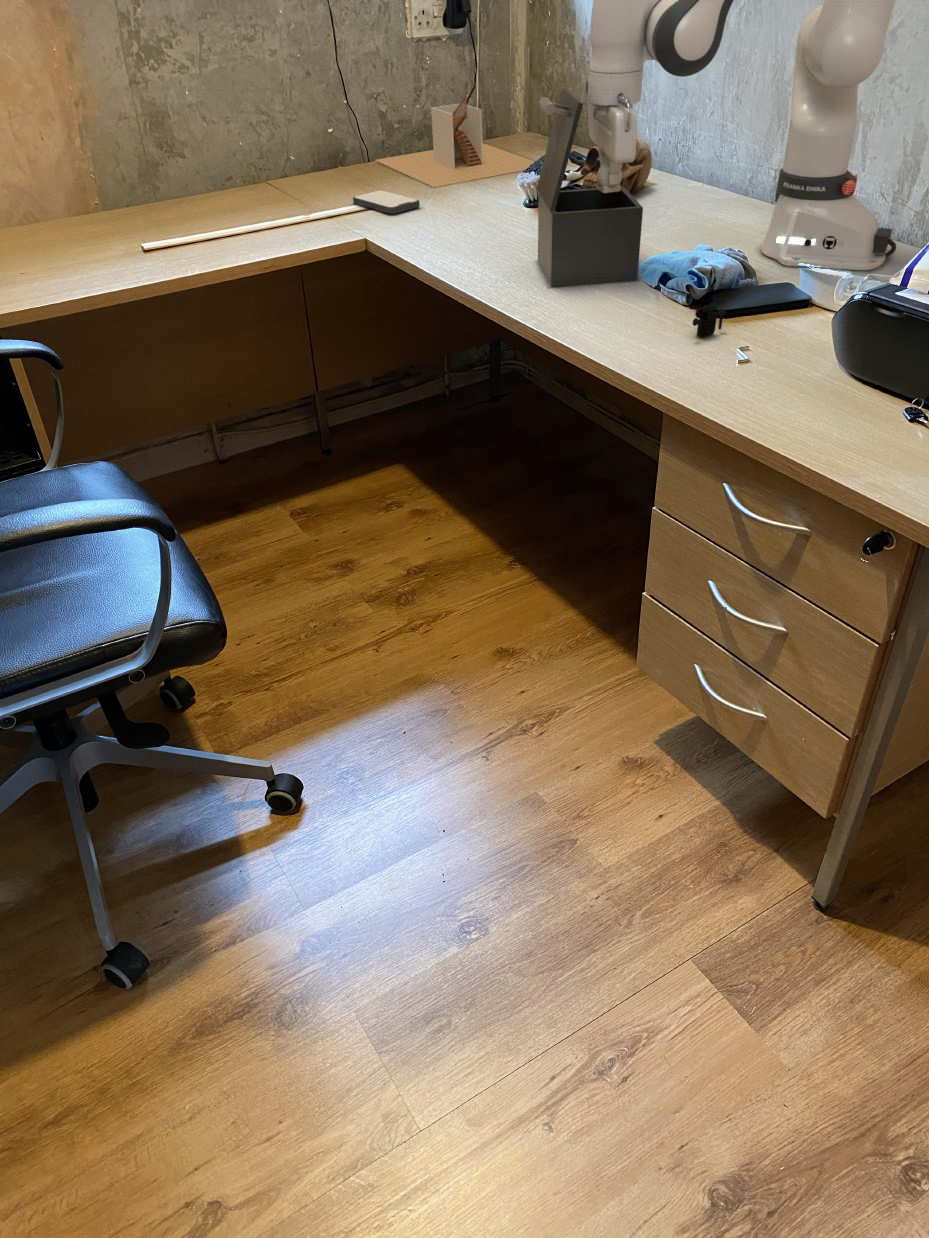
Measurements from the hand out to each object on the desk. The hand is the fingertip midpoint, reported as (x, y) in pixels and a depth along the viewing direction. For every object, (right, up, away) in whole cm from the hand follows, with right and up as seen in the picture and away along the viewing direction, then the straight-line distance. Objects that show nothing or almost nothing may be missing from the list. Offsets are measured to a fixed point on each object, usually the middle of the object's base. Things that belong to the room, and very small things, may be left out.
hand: (609, 179), depth 159 cm
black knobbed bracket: (+12, -33, -16) cm, 38 cm away
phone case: (-44, +18, +50) cm, 68 cm away
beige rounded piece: (0, -1, +1) cm, 2 cm away
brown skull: (+8, +20, +49) cm, 54 cm away
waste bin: (-3, -12, +10) cm, 16 cm away
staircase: (-27, +42, +78) cm, 93 cm away
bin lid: (-9, +3, -4) cm, 10 cm away
